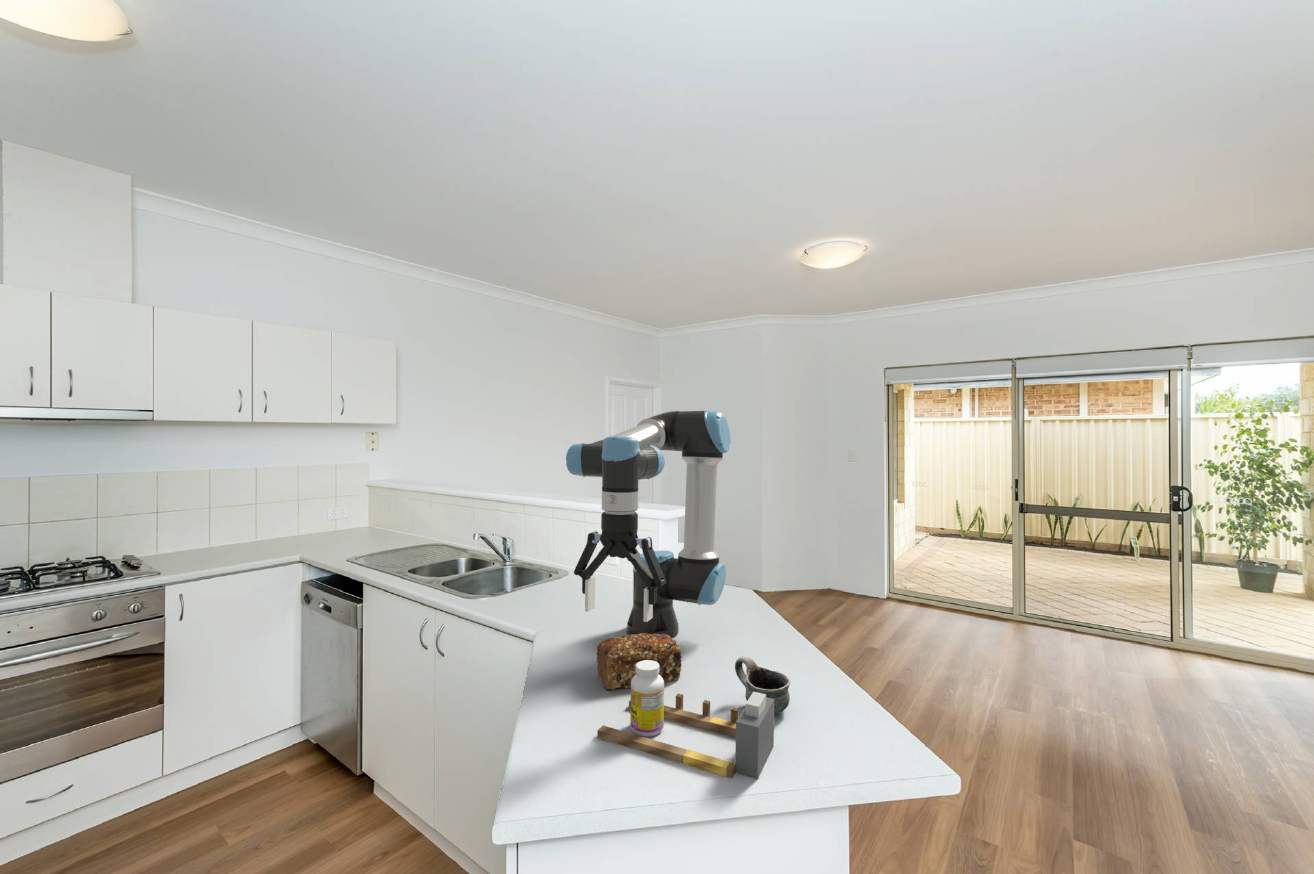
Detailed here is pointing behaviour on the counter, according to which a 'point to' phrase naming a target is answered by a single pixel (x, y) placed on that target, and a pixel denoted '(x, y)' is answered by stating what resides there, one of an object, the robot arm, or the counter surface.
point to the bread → (636, 658)
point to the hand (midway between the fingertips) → (618, 614)
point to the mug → (764, 682)
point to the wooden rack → (679, 753)
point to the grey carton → (754, 735)
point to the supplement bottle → (647, 700)
